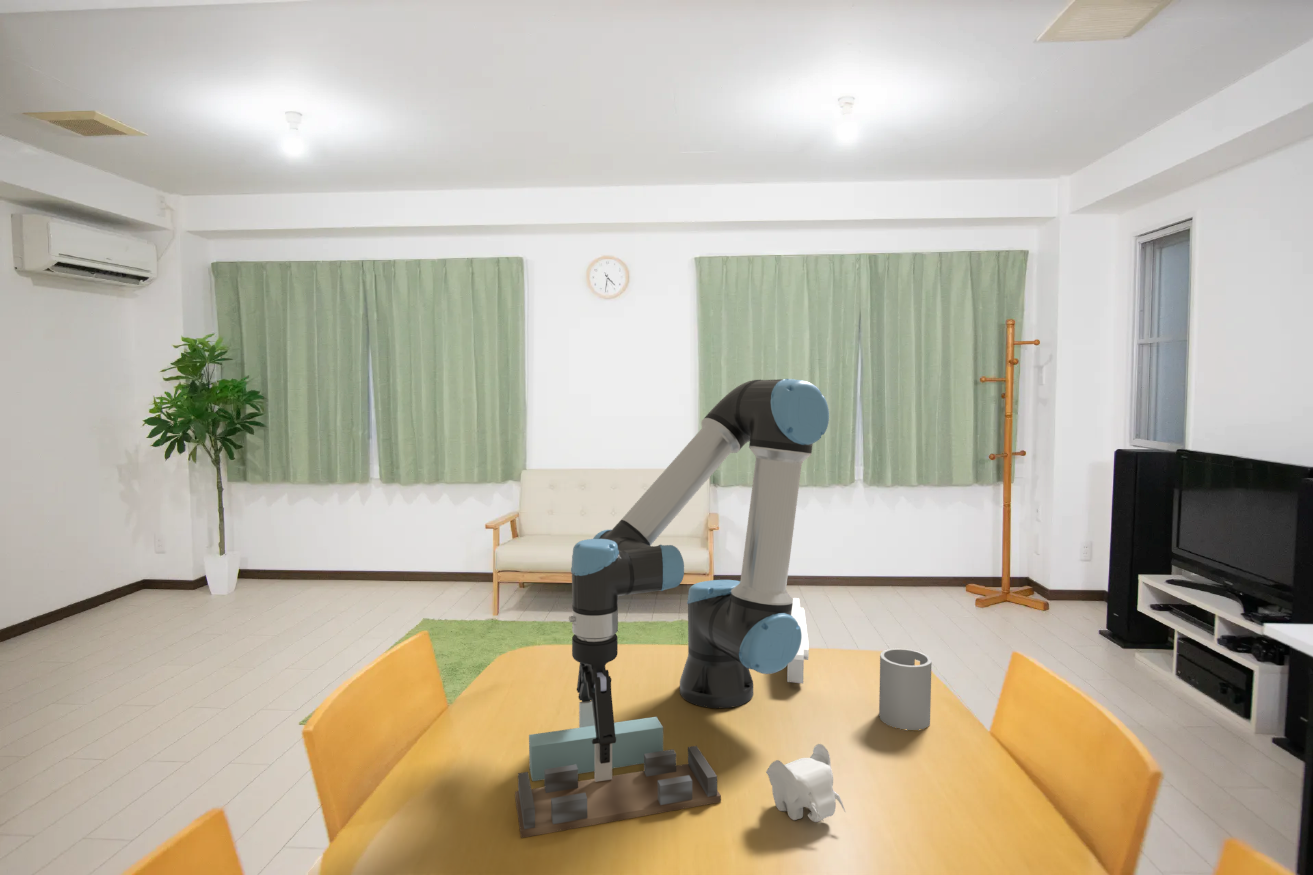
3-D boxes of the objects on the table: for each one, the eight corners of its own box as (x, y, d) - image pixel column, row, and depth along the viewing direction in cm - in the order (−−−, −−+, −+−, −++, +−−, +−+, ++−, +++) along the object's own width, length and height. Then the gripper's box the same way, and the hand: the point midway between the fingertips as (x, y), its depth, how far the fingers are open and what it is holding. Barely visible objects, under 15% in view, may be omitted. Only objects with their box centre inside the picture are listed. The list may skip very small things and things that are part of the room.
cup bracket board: (698, 767, 116) (698, 744, 116) (720, 801, 107) (720, 776, 107) (515, 797, 108) (514, 772, 108) (521, 837, 99) (520, 810, 98)
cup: (877, 725, 130) (878, 662, 130) (881, 704, 139) (882, 645, 138) (929, 734, 127) (931, 669, 126) (930, 712, 135) (931, 651, 135)
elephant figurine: (810, 846, 96) (810, 784, 96) (753, 802, 107) (754, 746, 106) (858, 822, 102) (859, 763, 101) (800, 783, 112) (800, 729, 111)
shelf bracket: (806, 644, 171) (807, 598, 168) (807, 710, 148) (809, 658, 144) (784, 643, 172) (784, 597, 169) (781, 707, 149) (782, 656, 145)
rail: (656, 749, 123) (656, 716, 122) (663, 761, 119) (663, 727, 118) (529, 769, 117) (528, 734, 116) (532, 782, 113) (531, 746, 112)
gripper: (560, 612, 127) (561, 725, 128) (586, 664, 103) (586, 803, 105) (601, 609, 129) (601, 720, 131) (635, 659, 105) (635, 795, 107)
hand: (594, 757), depth 118 cm, fingers open, 13 cm apart
